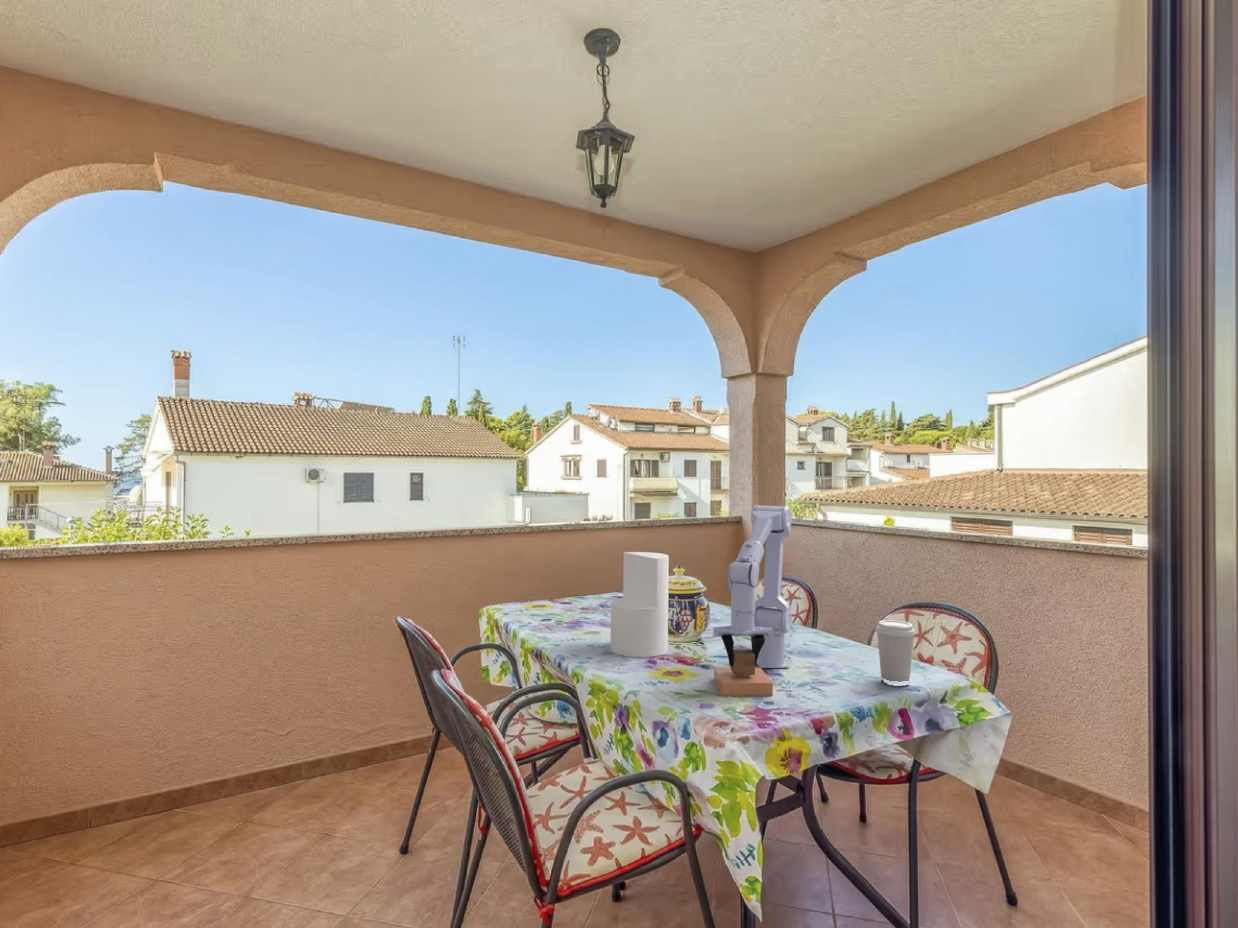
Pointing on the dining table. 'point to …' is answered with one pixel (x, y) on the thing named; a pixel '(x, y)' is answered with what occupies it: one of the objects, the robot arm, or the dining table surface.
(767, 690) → the terracotta plinth
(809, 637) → the dining table surface
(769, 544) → the robot arm
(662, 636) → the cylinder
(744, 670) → the walnut block
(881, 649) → the coffee cup
